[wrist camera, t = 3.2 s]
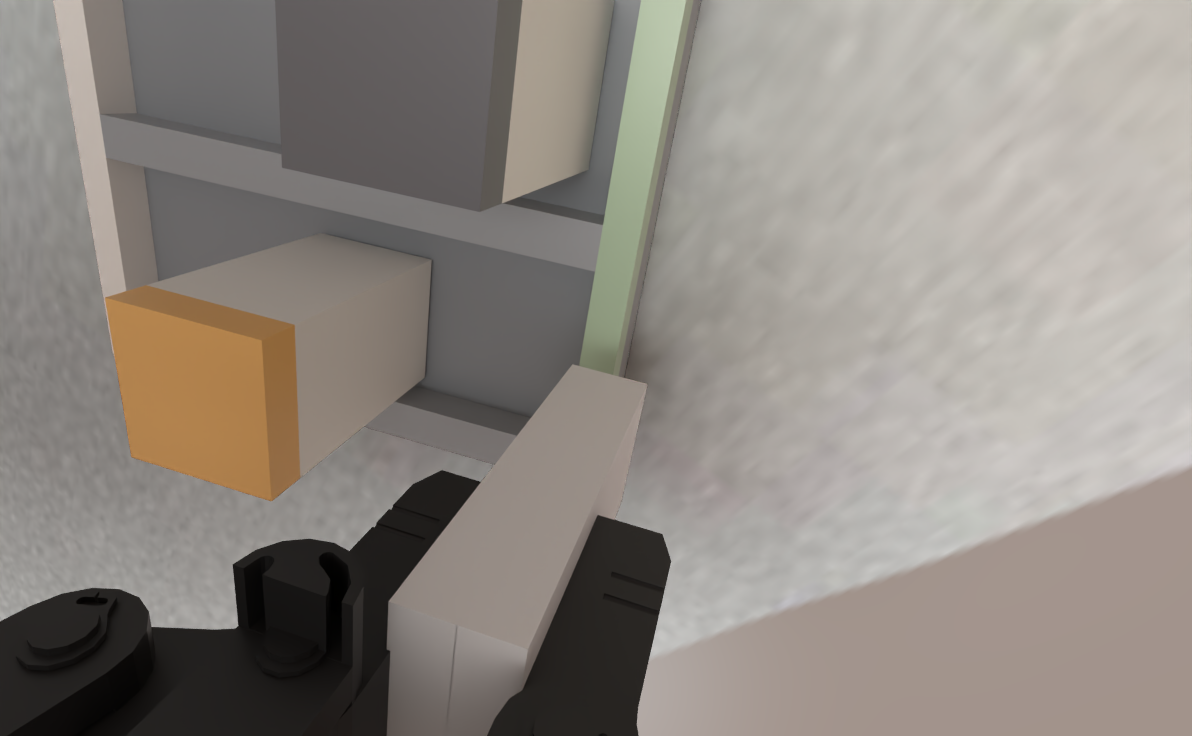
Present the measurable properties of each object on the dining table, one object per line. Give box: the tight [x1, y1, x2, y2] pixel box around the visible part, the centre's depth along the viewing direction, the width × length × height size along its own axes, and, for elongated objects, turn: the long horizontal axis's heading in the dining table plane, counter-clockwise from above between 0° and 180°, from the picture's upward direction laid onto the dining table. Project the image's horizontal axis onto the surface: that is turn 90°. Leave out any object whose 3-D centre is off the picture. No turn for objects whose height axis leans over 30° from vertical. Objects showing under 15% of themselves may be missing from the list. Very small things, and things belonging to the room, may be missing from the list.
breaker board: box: [53, 0, 701, 465], centre depth 14 cm, size 14×18×2 cm
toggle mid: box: [275, 0, 614, 212], centre depth 11 cm, size 3×3×6 cm
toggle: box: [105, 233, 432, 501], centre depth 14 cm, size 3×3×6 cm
